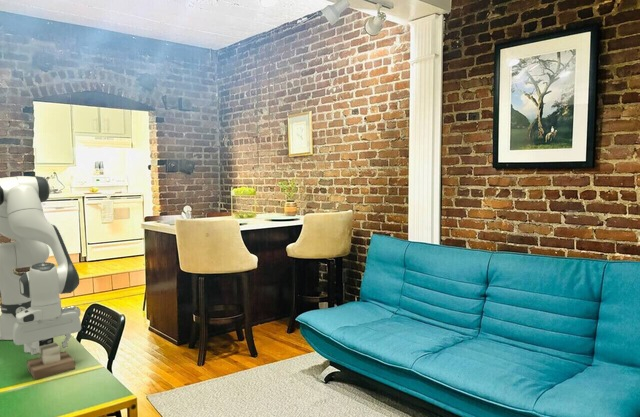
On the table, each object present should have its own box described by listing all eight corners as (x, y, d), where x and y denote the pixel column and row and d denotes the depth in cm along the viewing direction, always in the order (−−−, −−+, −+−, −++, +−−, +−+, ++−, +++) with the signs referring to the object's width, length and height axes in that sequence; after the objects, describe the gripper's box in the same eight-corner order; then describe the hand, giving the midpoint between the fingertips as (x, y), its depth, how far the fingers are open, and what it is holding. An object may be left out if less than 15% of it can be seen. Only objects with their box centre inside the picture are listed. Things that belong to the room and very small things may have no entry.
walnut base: (27, 369, 164) (26, 360, 164) (66, 359, 172) (65, 351, 172) (34, 379, 155) (34, 371, 155) (75, 369, 163) (74, 360, 163)
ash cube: (40, 360, 164) (39, 346, 163) (56, 356, 167) (55, 342, 167) (43, 364, 160) (42, 350, 160) (60, 360, 163) (59, 346, 163)
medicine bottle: (40, 353, 178) (37, 322, 177) (23, 352, 180) (21, 321, 179) (54, 346, 185) (52, 316, 184) (38, 345, 187) (36, 315, 186)
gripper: (77, 302, 171) (80, 340, 173) (10, 315, 158) (13, 356, 159) (82, 306, 167) (85, 345, 168) (13, 319, 153) (17, 361, 154)
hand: (49, 350), depth 163 cm, fingers open, 8 cm apart
